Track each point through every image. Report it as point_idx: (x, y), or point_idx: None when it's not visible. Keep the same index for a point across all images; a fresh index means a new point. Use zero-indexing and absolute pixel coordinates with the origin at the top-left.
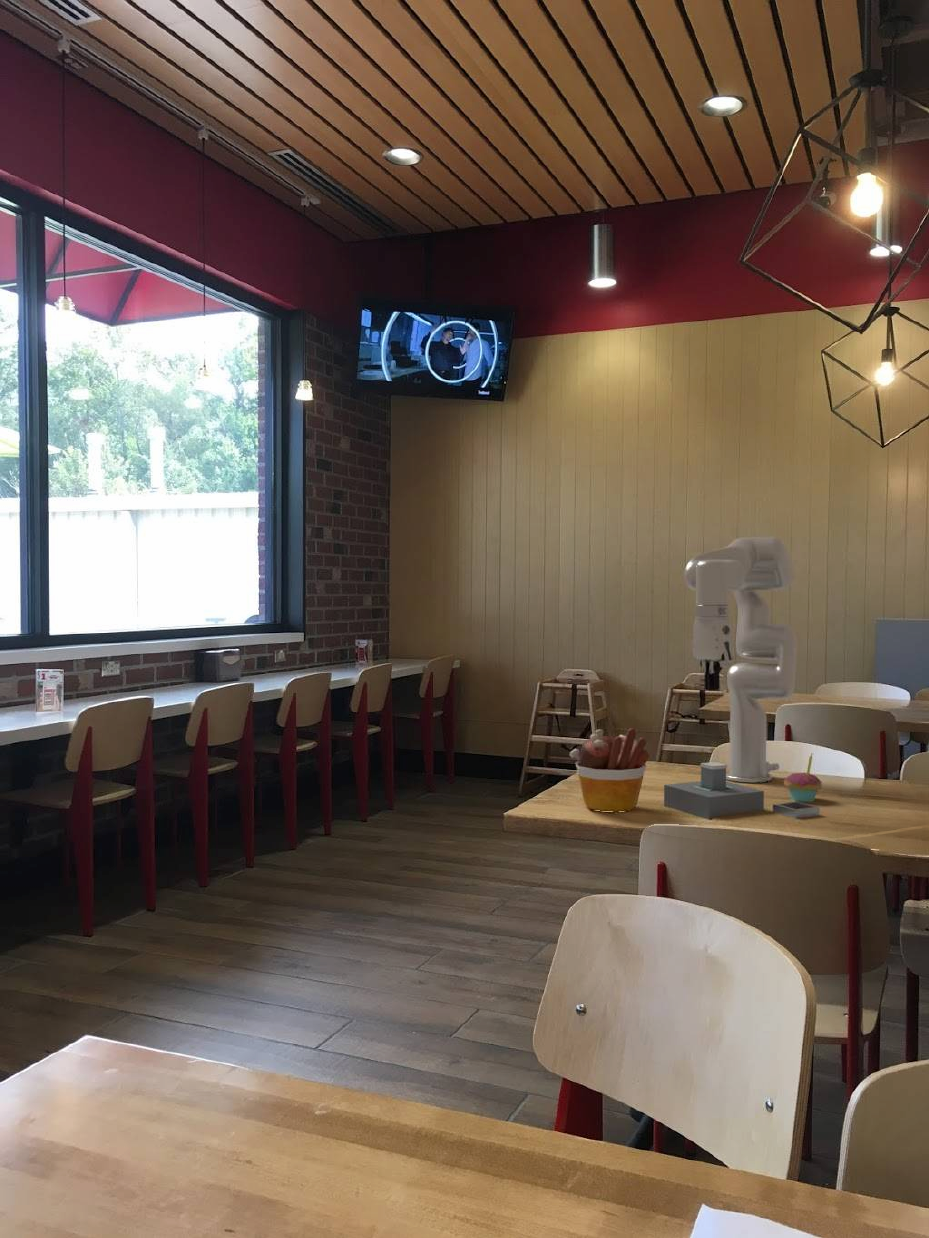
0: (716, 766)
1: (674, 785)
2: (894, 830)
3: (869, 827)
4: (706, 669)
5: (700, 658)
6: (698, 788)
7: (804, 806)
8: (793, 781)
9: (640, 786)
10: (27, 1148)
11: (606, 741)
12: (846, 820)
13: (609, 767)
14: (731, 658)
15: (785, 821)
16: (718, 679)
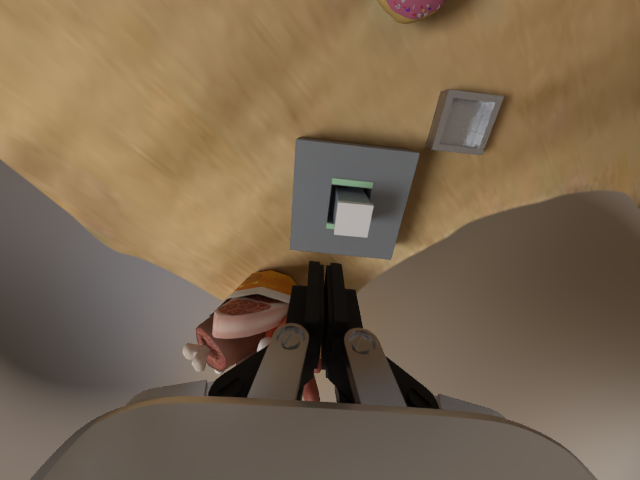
0: (368, 228)
1: (301, 240)
2: (630, 62)
3: (586, 82)
4: (302, 390)
5: None
6: None
7: (471, 100)
8: (417, 13)
9: (291, 289)
10: None
11: (236, 360)
12: (536, 69)
13: None
14: (528, 439)
15: (461, 168)
16: (359, 313)
